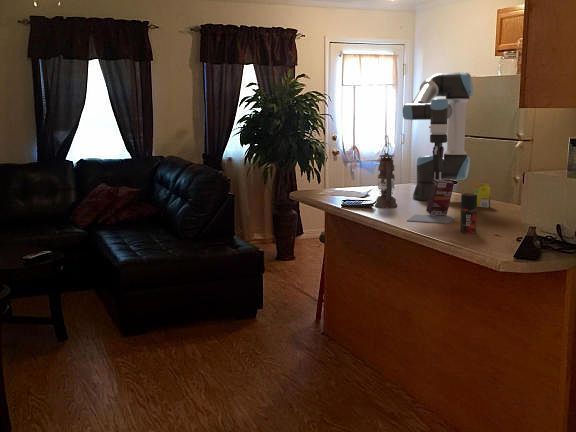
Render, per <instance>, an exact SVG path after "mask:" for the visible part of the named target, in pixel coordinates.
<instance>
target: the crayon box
mask: <svg viewBox="0 0 576 432" xmlns="http://www.w3.org/2000/svg"><path fill="white" fill-rule="evenodd" d="M481 185H482V186H481ZM491 190H492V189H491V186H490V184H489V183H480V182H479V183H477V182H476V183H475V182H474V183H473V194H477V208H488V209H489V208H490V207H491Z"/></svg>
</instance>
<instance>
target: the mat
mask: <svg viewBox="0 0 576 432" xmlns="http://www.w3.org/2000/svg"><path fill="white" fill-rule="evenodd" d="M454 219H456V216H452V215H451V216H448V215H429V214H416V213H415V214H413V216H411V217H410V218H408V219H407V220H406V222H410V223H411V222H415V223H426V224H427V223H430V224H443V223H444V224H445V225H450V223H452V221H454Z"/></svg>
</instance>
